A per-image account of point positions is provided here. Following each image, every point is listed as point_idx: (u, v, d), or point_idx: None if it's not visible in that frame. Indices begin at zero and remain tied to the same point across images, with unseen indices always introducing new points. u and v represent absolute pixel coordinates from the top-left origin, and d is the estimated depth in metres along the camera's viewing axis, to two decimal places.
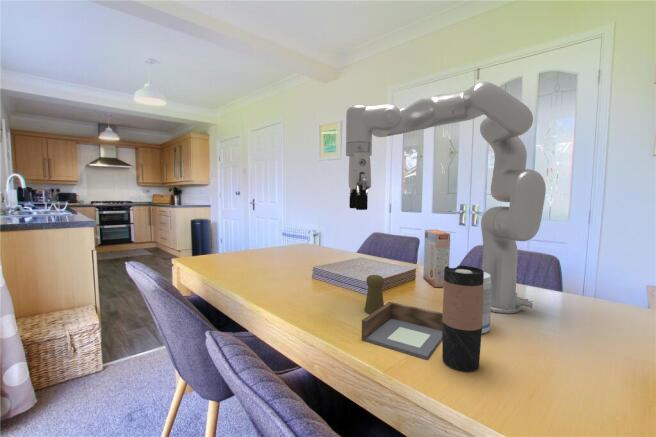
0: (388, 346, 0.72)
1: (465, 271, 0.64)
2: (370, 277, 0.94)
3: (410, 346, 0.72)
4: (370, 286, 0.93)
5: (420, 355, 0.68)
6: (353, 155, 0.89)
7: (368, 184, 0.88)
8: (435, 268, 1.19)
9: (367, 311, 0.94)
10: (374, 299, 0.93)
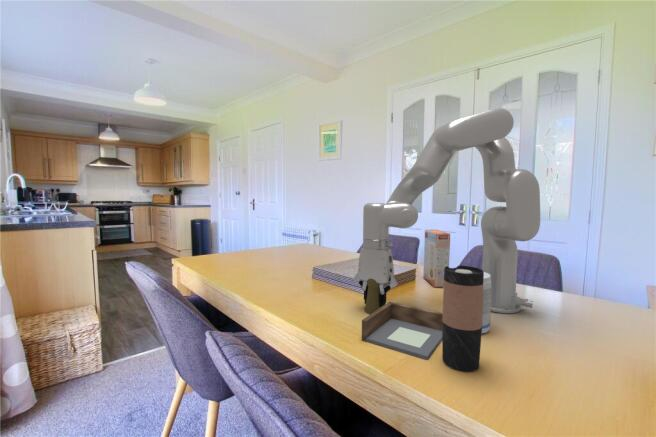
0: (388, 346, 0.72)
1: (465, 271, 0.64)
2: None
3: (410, 346, 0.72)
4: (370, 286, 0.93)
5: (420, 355, 0.68)
6: (381, 252, 0.90)
7: None
8: (435, 268, 1.19)
9: (367, 311, 0.94)
10: (374, 299, 0.93)
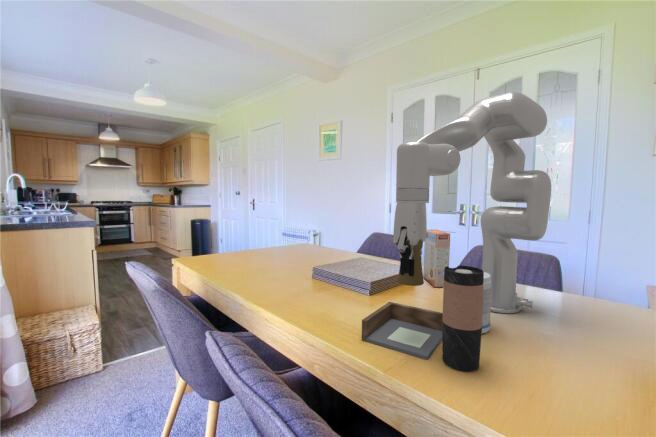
0: (388, 346, 0.72)
1: (465, 271, 0.64)
2: None
3: (410, 346, 0.72)
4: (420, 249, 0.73)
5: (420, 355, 0.68)
6: (425, 204, 0.75)
7: None
8: (435, 268, 1.19)
9: (420, 282, 0.73)
10: (421, 264, 0.74)
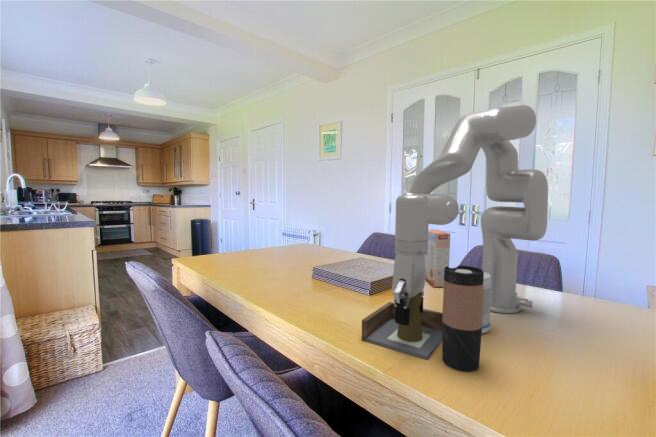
0: (388, 346, 0.72)
1: (465, 271, 0.64)
2: (416, 295, 0.74)
3: (410, 346, 0.72)
4: (418, 305, 0.74)
5: (420, 355, 0.68)
6: None
7: None
8: (435, 268, 1.19)
9: (419, 338, 0.74)
10: (420, 319, 0.76)
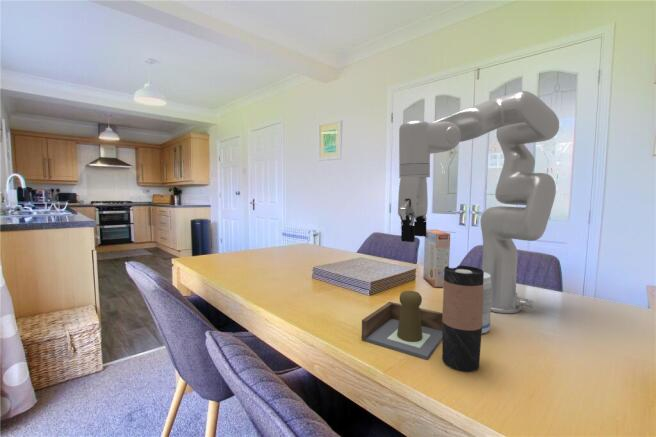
0: (388, 346, 0.72)
1: (465, 271, 0.64)
2: (416, 295, 0.74)
3: (410, 346, 0.72)
4: (418, 305, 0.74)
5: (420, 355, 0.68)
6: (426, 179, 0.81)
7: None
8: (435, 268, 1.19)
9: (419, 338, 0.74)
10: (420, 319, 0.76)
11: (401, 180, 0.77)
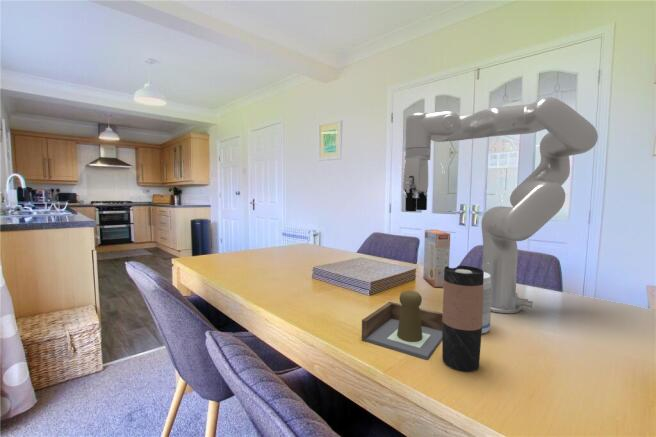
0: (388, 346, 0.72)
1: (465, 271, 0.64)
2: (416, 295, 0.74)
3: (410, 346, 0.72)
4: (418, 305, 0.74)
5: (420, 355, 0.68)
6: (427, 161, 0.98)
7: None
8: (435, 268, 1.19)
9: (419, 338, 0.74)
10: (420, 319, 0.76)
11: (406, 161, 0.95)
